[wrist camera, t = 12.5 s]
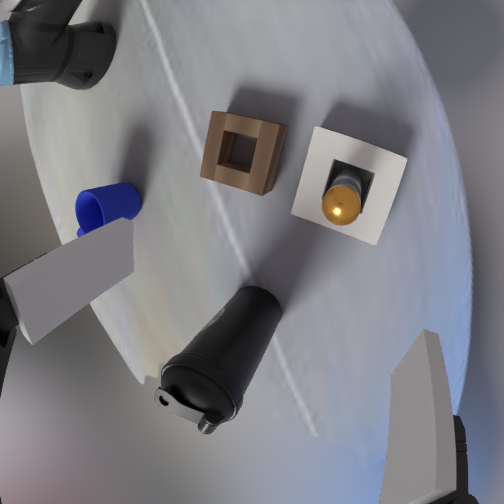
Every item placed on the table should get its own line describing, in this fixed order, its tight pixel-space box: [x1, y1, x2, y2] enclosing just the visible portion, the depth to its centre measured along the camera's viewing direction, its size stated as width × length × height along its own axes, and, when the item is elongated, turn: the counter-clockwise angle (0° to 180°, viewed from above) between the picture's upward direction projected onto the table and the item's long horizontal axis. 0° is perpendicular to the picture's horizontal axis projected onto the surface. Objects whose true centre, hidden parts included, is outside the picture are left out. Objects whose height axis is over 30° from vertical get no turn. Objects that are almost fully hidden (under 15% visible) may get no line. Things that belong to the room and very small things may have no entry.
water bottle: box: [155, 286, 281, 434], centre depth 37 cm, size 10×10×23 cm
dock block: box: [291, 126, 407, 246], centre depth 32 cm, size 11×11×4 cm
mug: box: [75, 183, 141, 238], centre depth 45 cm, size 8×12×10 cm
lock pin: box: [322, 169, 361, 226], centre depth 28 cm, size 3×3×14 cm
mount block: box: [200, 111, 288, 196], centre depth 36 cm, size 9×9×4 cm
